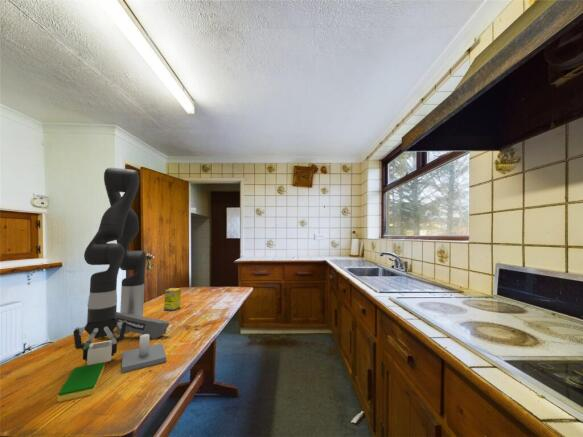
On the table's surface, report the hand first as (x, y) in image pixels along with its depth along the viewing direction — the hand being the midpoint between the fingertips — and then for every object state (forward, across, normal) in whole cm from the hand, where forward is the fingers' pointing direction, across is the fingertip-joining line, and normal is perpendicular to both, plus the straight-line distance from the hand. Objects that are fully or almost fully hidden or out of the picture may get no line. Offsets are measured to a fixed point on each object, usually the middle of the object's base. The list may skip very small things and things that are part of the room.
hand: (100, 357), depth 80 cm
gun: (+2, -9, -17) cm, 20 cm away
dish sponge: (+2, +3, +12) cm, 12 cm away
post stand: (+2, -12, +5) cm, 13 cm away
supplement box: (+2, -28, -50) cm, 57 cm away
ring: (+1, 0, 0) cm, 1 cm away
